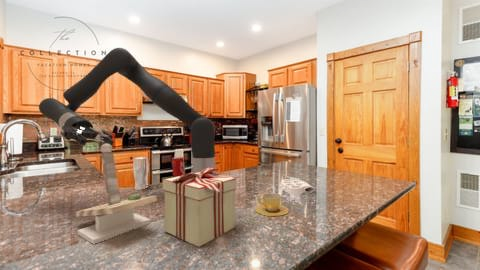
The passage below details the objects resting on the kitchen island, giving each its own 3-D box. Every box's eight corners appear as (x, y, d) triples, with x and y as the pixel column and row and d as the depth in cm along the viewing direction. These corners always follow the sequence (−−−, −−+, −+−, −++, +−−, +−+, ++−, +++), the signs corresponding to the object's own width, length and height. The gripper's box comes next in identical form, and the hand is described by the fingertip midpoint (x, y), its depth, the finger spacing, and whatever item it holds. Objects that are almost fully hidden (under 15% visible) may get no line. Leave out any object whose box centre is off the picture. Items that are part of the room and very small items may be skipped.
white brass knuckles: (317, 195, 101) (284, 196, 100) (303, 185, 118) (275, 186, 117) (317, 187, 100) (284, 188, 99) (303, 178, 118) (275, 179, 117)
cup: (290, 206, 86) (290, 192, 86) (286, 219, 75) (286, 202, 74) (259, 203, 90) (259, 189, 90) (250, 214, 79) (250, 199, 78)
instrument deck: (75, 216, 70) (67, 152, 72) (116, 205, 80) (108, 149, 82) (113, 213, 56) (102, 135, 59) (156, 200, 66) (145, 133, 68)
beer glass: (136, 187, 116) (135, 157, 116) (150, 186, 117) (150, 156, 116) (131, 190, 109) (130, 159, 109) (146, 190, 110) (145, 158, 109)
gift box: (212, 253, 55) (211, 180, 54) (159, 234, 64) (158, 172, 64) (248, 226, 69) (248, 168, 68) (201, 214, 79) (200, 163, 78)
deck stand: (77, 234, 65) (77, 215, 65) (132, 216, 78) (132, 200, 78) (93, 244, 59) (93, 224, 59) (150, 223, 72) (149, 206, 72)
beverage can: (182, 189, 110) (182, 158, 110) (170, 189, 112) (169, 158, 111) (187, 186, 116) (187, 156, 116) (175, 186, 118) (175, 156, 117)
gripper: (55, 112, 76) (78, 130, 68) (99, 118, 88) (123, 134, 81) (48, 133, 77) (71, 153, 69) (93, 136, 89) (116, 154, 82)
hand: (99, 143), depth 75 cm, fingers open, 8 cm apart
